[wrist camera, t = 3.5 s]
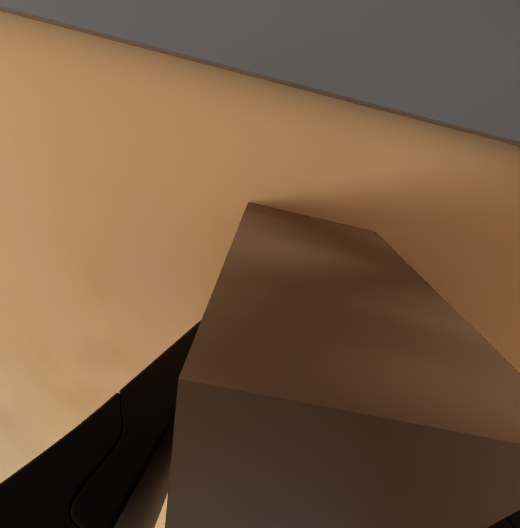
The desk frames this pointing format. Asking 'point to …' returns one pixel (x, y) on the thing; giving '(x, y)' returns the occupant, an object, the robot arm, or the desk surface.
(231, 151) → the desk surface
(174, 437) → the block
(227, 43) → the grey base board
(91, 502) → the robot arm
